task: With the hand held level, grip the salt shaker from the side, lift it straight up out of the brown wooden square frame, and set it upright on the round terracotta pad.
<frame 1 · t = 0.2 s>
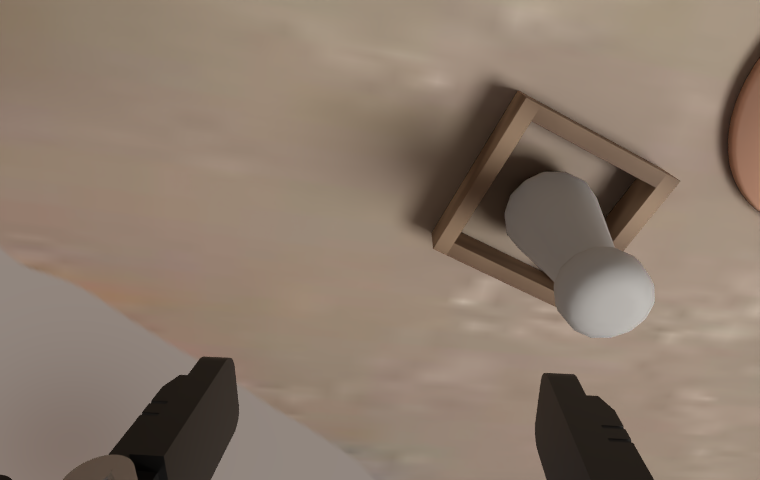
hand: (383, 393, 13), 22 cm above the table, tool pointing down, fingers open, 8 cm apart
brown wooden square frame: (541, 202, 34), on the table
salt shaker: (541, 200, 34), resting in brown wooden square frame
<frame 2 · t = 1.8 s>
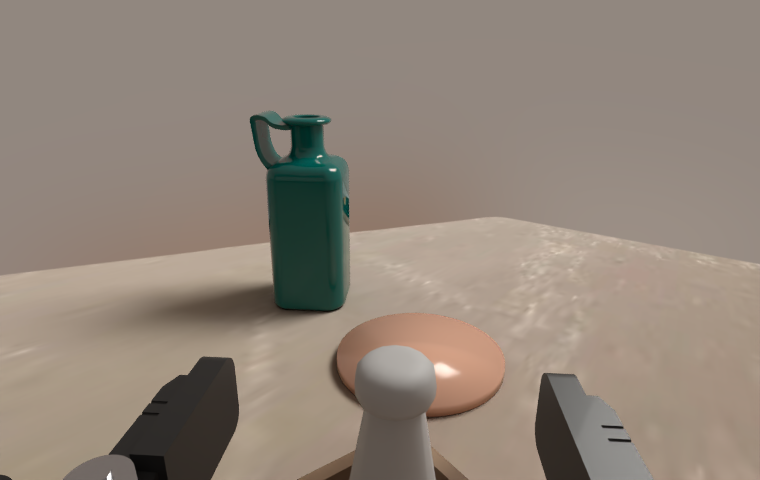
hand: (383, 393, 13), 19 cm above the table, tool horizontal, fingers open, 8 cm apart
terracotta pad: (419, 361, 48), on the table
pitcher: (308, 297, 62), on the table
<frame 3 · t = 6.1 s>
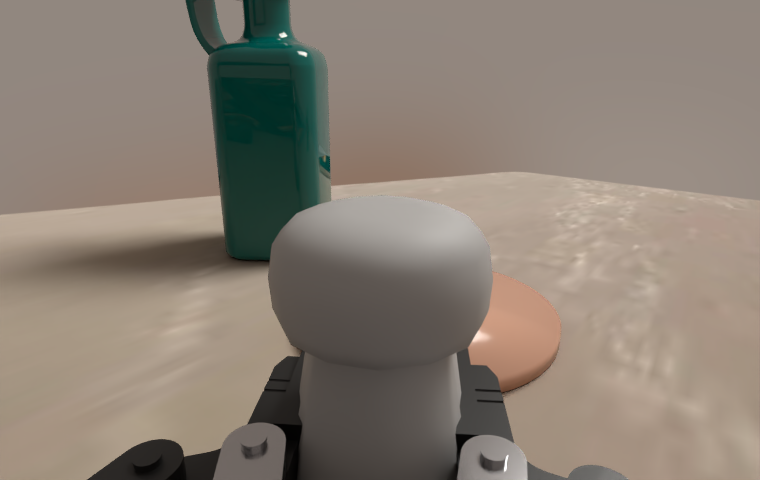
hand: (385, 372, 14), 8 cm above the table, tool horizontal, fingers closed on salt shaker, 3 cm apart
terracotta pad: (428, 321, 32), on the table
pitcher: (274, 247, 46), on the table
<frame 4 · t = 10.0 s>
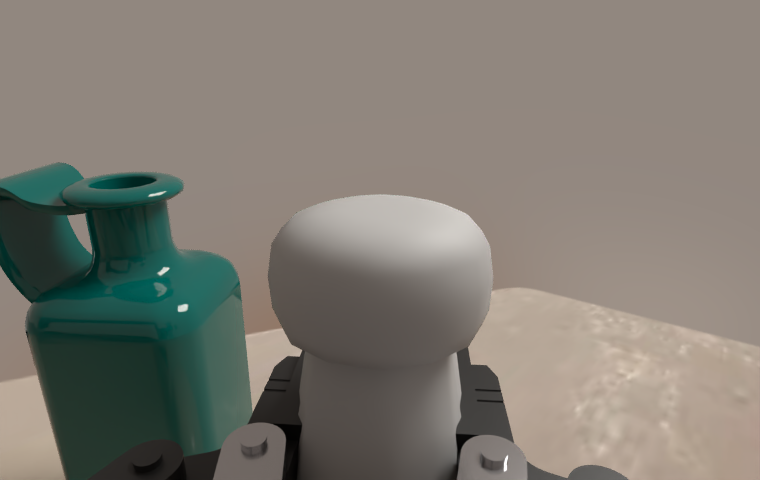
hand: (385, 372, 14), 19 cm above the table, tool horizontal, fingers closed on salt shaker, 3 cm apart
when the fingers open (10 cm above the table, at t = 11.8 s): salt shaker drops 1 cm, resting on terracotta pad.
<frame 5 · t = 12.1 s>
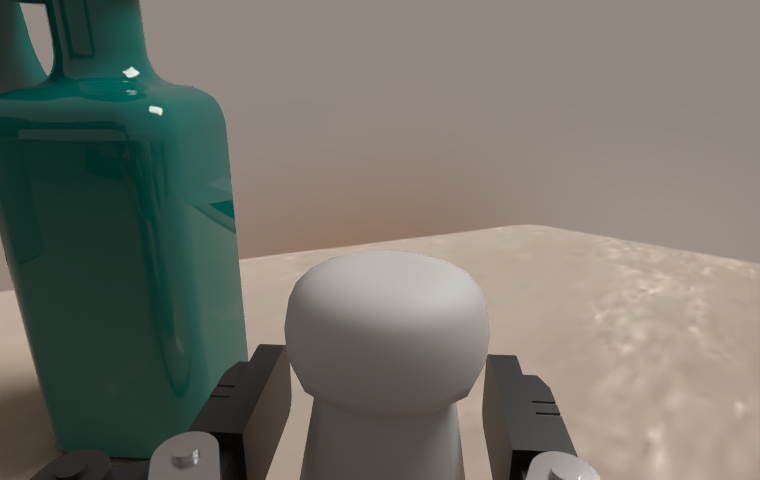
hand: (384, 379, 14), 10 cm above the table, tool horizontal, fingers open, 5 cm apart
pitcher: (151, 409, 28), on the table
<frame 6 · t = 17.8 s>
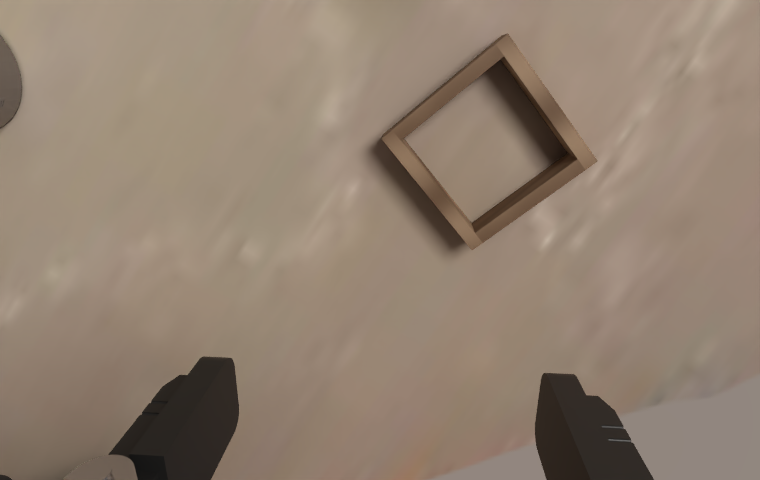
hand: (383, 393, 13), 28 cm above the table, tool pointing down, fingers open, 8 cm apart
brown wooden square frame: (484, 144, 38), on the table
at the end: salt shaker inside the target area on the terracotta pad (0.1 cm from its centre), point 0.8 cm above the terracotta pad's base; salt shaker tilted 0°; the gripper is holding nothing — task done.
